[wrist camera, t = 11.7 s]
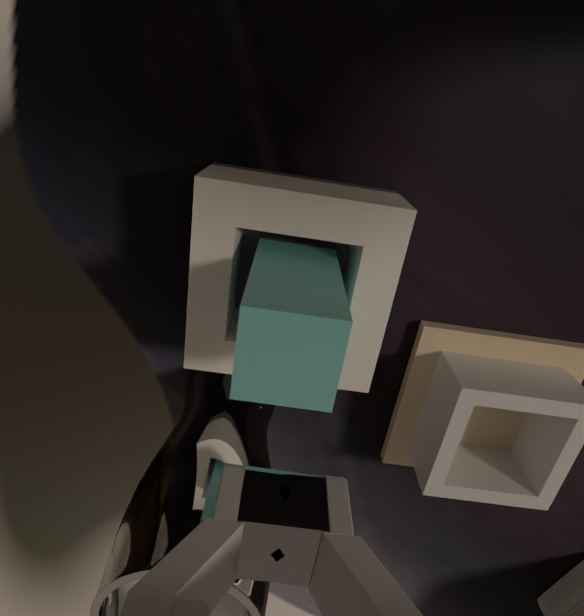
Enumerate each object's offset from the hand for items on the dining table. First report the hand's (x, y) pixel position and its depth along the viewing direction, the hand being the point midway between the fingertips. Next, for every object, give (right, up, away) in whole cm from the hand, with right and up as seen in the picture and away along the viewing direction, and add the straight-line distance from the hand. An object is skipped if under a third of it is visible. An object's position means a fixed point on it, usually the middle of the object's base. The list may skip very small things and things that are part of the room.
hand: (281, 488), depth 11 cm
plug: (0, +7, +15) cm, 16 cm away
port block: (0, +7, +15) cm, 17 cm away
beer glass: (-4, -1, +20) cm, 20 cm away
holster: (+13, -2, +19) cm, 23 cm away
